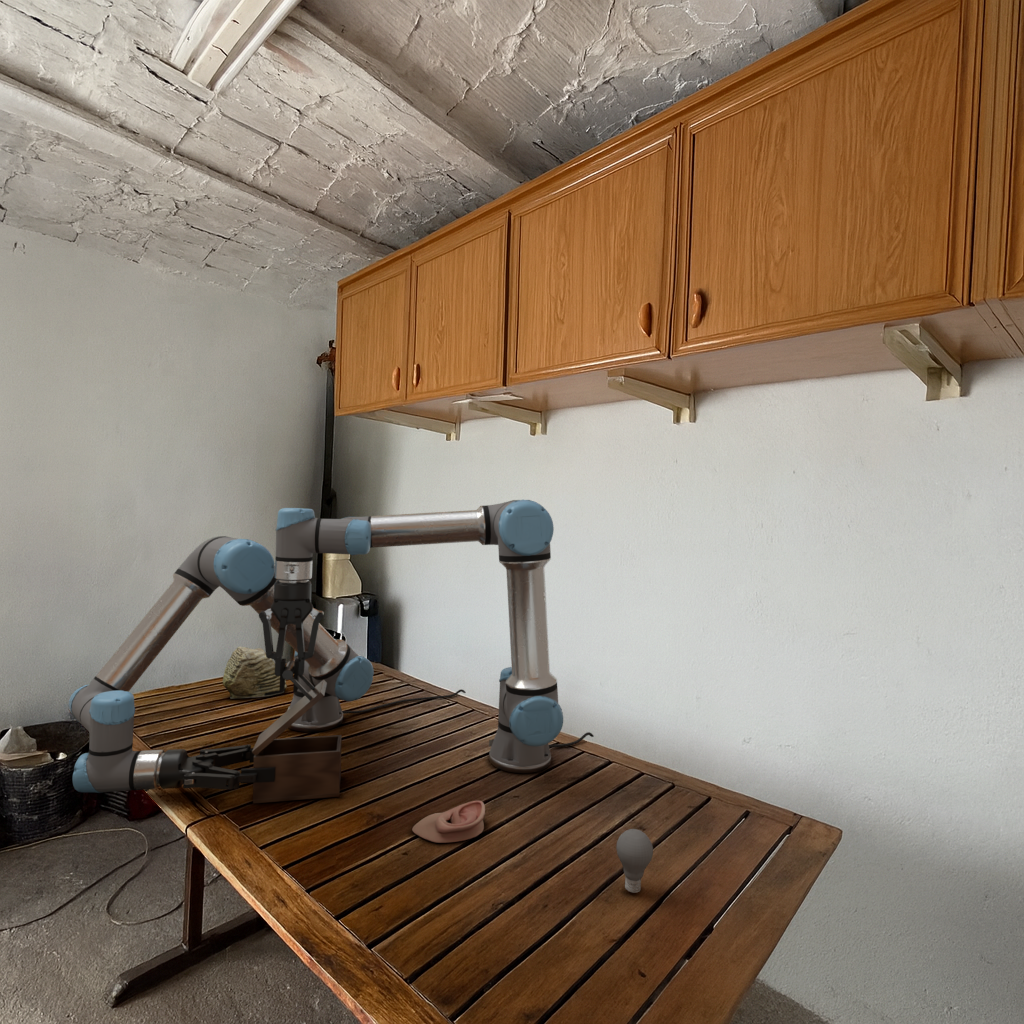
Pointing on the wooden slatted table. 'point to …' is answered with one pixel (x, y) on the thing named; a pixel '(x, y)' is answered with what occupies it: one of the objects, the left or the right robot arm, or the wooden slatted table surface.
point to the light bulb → (634, 857)
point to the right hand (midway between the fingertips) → (288, 690)
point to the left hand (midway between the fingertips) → (278, 764)
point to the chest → (300, 769)
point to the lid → (294, 711)
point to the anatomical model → (453, 823)
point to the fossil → (251, 674)
